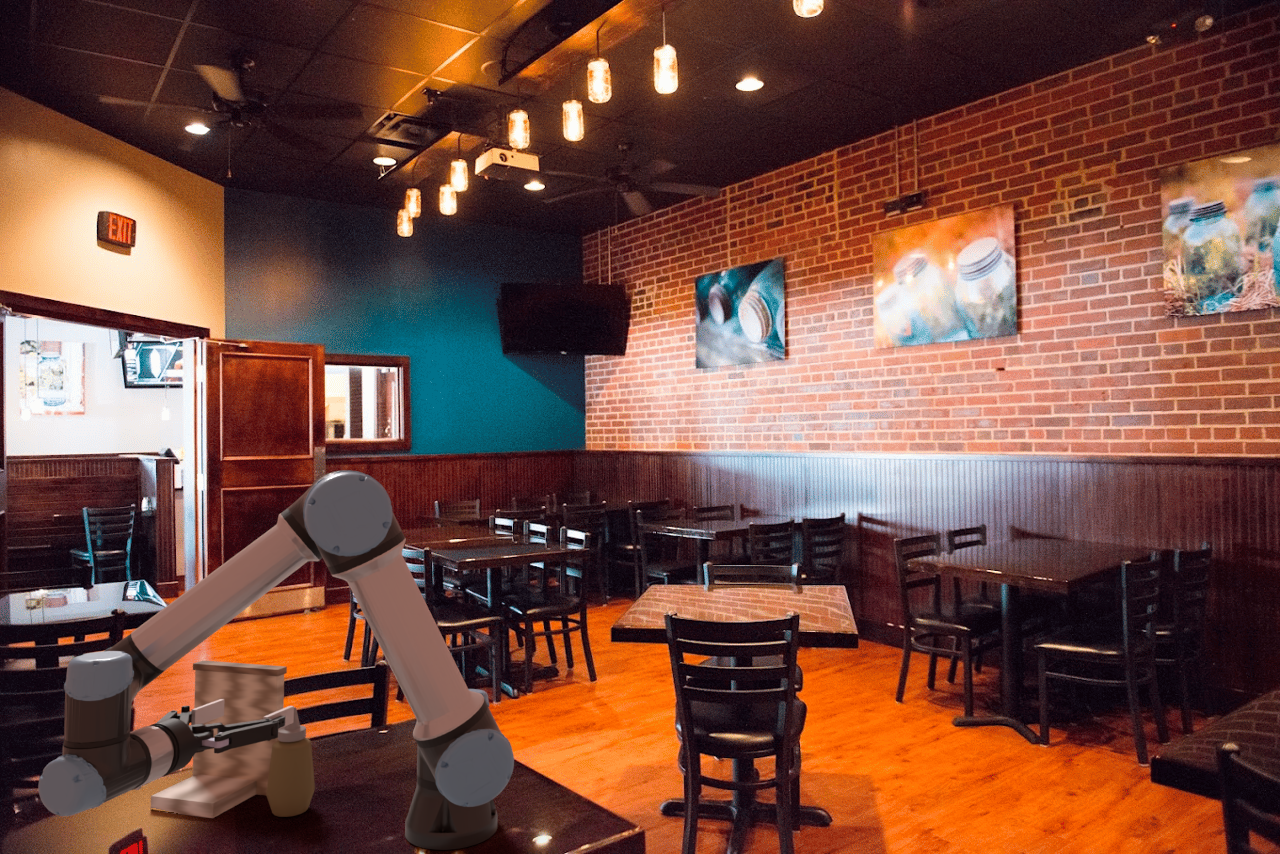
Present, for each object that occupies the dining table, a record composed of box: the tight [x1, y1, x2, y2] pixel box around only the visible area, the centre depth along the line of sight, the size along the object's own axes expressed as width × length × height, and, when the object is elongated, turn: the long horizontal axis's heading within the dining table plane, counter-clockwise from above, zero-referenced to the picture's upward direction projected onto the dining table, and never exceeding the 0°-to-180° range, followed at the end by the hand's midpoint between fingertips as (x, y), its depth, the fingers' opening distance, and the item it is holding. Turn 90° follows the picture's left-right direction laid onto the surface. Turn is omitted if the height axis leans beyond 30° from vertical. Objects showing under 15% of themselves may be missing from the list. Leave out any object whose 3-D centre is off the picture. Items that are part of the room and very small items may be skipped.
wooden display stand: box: [150, 660, 288, 819], centre depth 157 cm, size 19×13×23 cm
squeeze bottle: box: [265, 706, 316, 818], centre depth 152 cm, size 8×8×18 cm
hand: (256, 710), depth 143 cm, fingers open, 13 cm apart
